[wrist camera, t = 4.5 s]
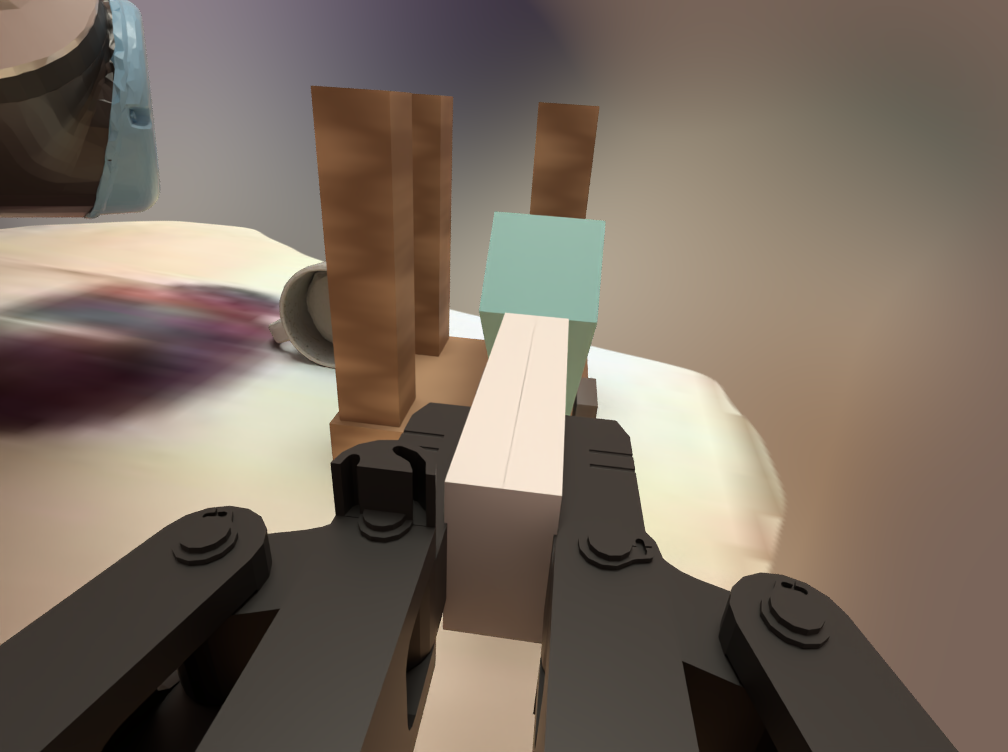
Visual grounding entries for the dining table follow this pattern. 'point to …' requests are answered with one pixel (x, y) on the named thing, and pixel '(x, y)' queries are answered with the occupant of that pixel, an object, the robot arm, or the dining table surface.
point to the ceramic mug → (307, 315)
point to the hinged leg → (545, 280)
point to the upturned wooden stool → (414, 249)
